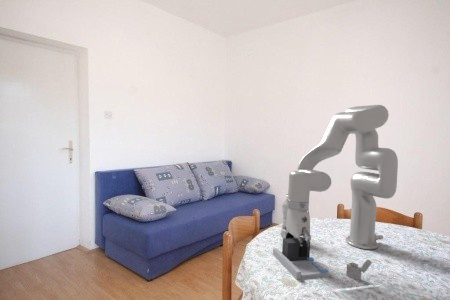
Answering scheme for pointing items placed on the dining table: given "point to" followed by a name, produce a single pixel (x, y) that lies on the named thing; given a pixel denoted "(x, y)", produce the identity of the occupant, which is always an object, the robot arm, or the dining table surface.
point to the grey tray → (300, 267)
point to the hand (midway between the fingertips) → (295, 250)
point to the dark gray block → (293, 249)
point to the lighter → (357, 270)
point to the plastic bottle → (284, 217)
